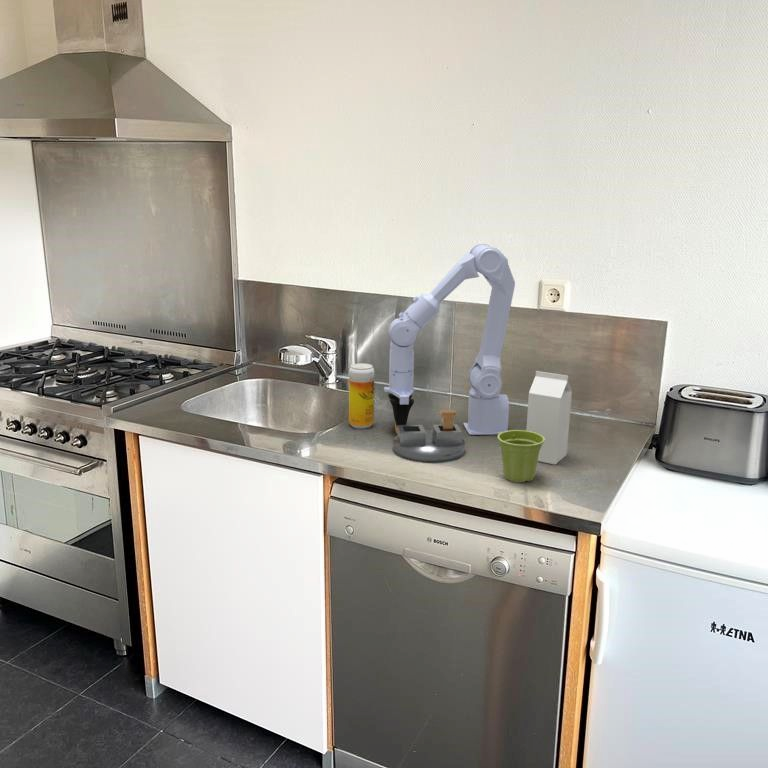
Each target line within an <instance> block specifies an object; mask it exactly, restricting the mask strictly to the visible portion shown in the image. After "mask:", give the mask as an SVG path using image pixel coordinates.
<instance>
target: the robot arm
mask: <svg viewBox="0 0 768 768" xmlns="http://www.w3.org/2000/svg"><path fill="white" fill-rule="evenodd" d="M478 273H479V274H481V275H483V277H484V278H485V280H486V281H487V282H488V284H489V285H490V287H491V290H490V291H491V292H490V296H489V302H488V306H487V311H486V317H485V322H484V326H483V331H482V338H481V341H480V346H479V352H478V353H477V355H476V356H475V359H474V363H473V365H472V367H470V369H469V371H468V375H467V378H468V381H469V383H470V385H471V388H470V389H469V391H468V406H467V407H468V409H467V413H468V414H467V422H463V424H462V425H463V426H464V429H465V430H466V432H467V433H468V435H470V436H471V435H472V436H473V435H474V436H475V435H477V436H478V435H479V436H480V435H481V436H482V435H483V436H484V435H487V436H488V435H489V436H491V435H498V434H500V433H502V432H504V431H509V430H508V429H509V415H510V402H509V397H508V395H507V394H506V393H505V394H503V393H500V392H501V391H502V390H501V389H502V388H503V387H502V386H503V381H502V378H501V372H502V362H501V357H502V356H501V354H502V351H503V345H504V340H505V336H506V331H507V326H508V322H509V316H510V313H511V311H510V310H511V306H512V302H513V298H514V291H515V286H516V282H515V278H514V276H513V273H512V271H511V268H510V265H509V258H507V256H505V255H504V254H503V253H502V251H501V250H500V249H498V248H496V247H494V246H490V245H488V244H486V243H478V244H476V245H475V246H473V247H472V248H471V249H470V251H469V252H466V254H464V255H462V257H461V258H460V259H459V260H458V261H457V262H456V263H455V264H454V266H453V267H452V268H451V269H450V270H449V271H448V273H447V274H445V275H444V277H443V278H442V279H441V281H439V282H438V284H437V285H435V287H434V288H433V289H432V290H431V291H430V292H429V293H421V294H420V295H419V296H418V295H415V296H414V297H413V298H412V301H413V302H412V303H411V304H410V305H409V306H408V308H407V309H405V310H404V312H401V311H400V313H399V314H398V318H395V319H393V320H392V321H391V323H390V324H389V328H388V329H387V332H388V335H389V337H390V343H389V347H390V348H389V357H388V360H389V366H388V368H389V370H388V372H389V373H388V378H389V379H388V386H384V387H383V391H384V392H385V393H388V394H387V395H388V396H387V397H388V398H389V401H390V404H391V406H392V412H393V419H394V422H396V426H397V427H398V425H407V423H408V419H409V418H408V417H409V414H410V411H411V409H412V407H413V405H414V403H415V400H414V398H412V397H413V393H414V392H415V388H414V371H415V370H414V367H415V366H414V363H415V350H414V342H416V340H417V335H418V332H421V331H422V330H423V329H424V327H425V326H427V325H428V323H430V322H431V320H432V319H433V318H434V317H436V315H437V314H438V313H440V304H441V303H442V302H443V301H444V300H445V299H447V297H448V296H449V295H450V294H452V293H453V292H454V290H456V288H458V287H459V286H460V285H461V284H462V283H463V282H464V281H465V280H470V279H476V278H479V277H480V275H479V274H478Z"/></svg>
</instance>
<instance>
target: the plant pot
mask: <svg viewBox="0 0 768 768" xmlns="http://www.w3.org/2000/svg"><path fill="white" fill-rule="evenodd" d="M497 440H498V441H499V446H500V447H501V450H500V451H501V458H502V468H503V469H502V471H503V477H504V478H506V479H507V480H508V481H510V482H513V483H523V482H526V481H527V482H532V481H533V480H534V479H535V475H536V470H537V466H538V465H537V464H538V462H539V461H538V456H539V451H540V449H541V447H542V444H543V443H544V441H545V438H544V437H543V436H542V435H540V434H538V433H535V432H531V431H526V430H525V429H524V430H521V429H512V430H508V431H504V432H502V433H500V434H497Z"/></svg>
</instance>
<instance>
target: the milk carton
mask: <svg viewBox="0 0 768 768" xmlns="http://www.w3.org/2000/svg"><path fill="white" fill-rule="evenodd" d="M572 395H573V389H572V386H571V385H570V382H569V375H567V374H559V373H554V372H545V371H540V370H539V371H538V370H535V376H534V378H533V382H532V384H531V387H530V388H529V392H528V402H527V414H526V415H527V417H526V430H525V431H531V432H535V433H538V434H540V435H542V436H543V437H544V438H545V441H544V443H543V444H542V447H541V449H540V451H539V456H538V461H537V462H540V463H545V464H551V465H555V466H556V465H557V464H558V463H559V462H560V461H562V460H563V459H564V458H565V457H566V456H567V454H568V443H569V431H570V430H569V429H570V418H571V406H572Z"/></svg>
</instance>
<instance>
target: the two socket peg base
mask: <svg viewBox="0 0 768 768" xmlns="http://www.w3.org/2000/svg"><path fill="white" fill-rule="evenodd" d="M456 413H457V412H456V410H455V409H439V416H440V417H441V423H439V424H432V429H425V428H424V425H423V424H406V425H398V432H397V433H396V434H397V435H396V436H394V438H393V440H392V451H393V452H394V454H395V455H397V456H398V457H399V458H402V459H404V460H408V461H411V462H418V463H427V464H429V463H430V464H435V463H445V462H446V463H447V462H451V461H452V462H453V461H455V460H458V459H461V457H462V456H464V455H465V452H466V451H465V449H466V447H465V446H466V441H465V440H464V438H463V437H462V436H463V432H462V430H461V428H460V426H459V424H457V423H454V418H455V417H457V416H456V415H457V414H456Z"/></svg>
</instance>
